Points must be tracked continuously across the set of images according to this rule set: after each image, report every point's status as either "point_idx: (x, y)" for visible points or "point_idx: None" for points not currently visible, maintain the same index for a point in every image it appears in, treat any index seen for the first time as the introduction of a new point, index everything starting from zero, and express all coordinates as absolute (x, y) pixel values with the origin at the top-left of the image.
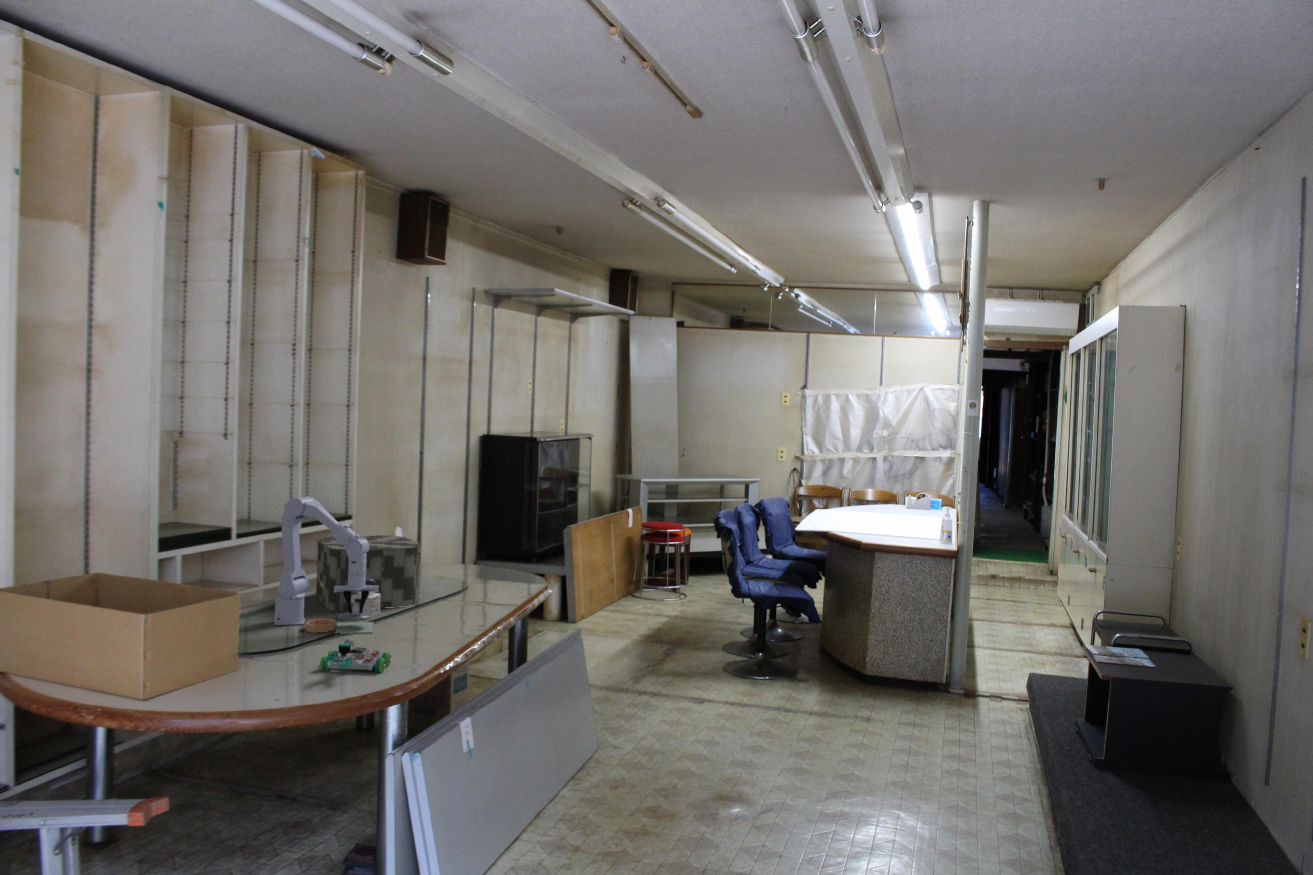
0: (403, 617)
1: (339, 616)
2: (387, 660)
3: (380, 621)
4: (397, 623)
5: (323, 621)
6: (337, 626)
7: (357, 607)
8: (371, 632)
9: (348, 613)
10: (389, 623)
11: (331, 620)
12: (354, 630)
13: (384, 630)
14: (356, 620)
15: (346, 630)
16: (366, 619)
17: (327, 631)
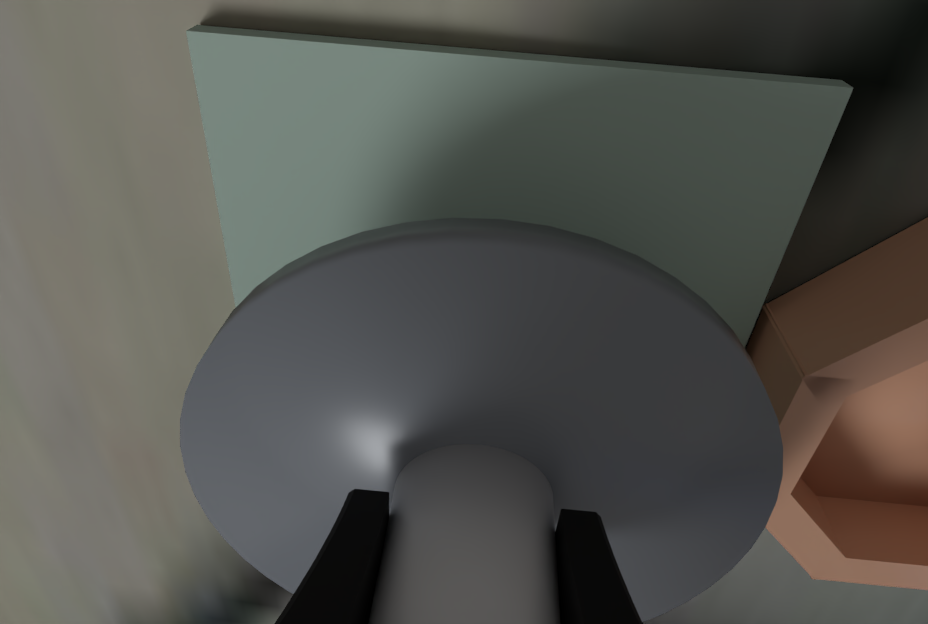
0: (42, 609)
1: (778, 460)
2: None
3: (218, 547)
4: (18, 462)
5: (871, 538)
6: None
7: (427, 601)
8: (215, 30)
9: None
10: (105, 475)
11: (801, 511)
12: (502, 183)
13: (60, 185)
14: (468, 220)
15: (627, 206)
16: (265, 280)
17: (919, 230)
